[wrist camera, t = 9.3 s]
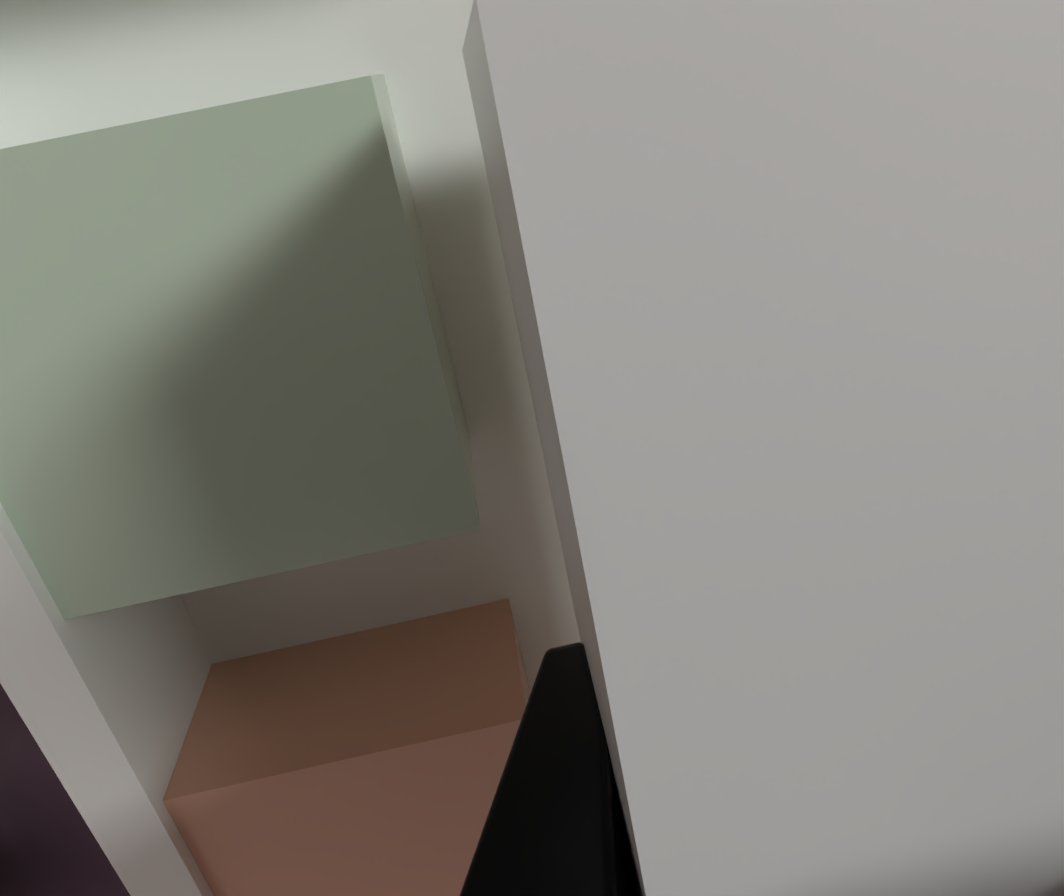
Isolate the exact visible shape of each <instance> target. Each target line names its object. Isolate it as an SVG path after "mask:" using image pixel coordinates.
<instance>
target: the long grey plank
mask: <svg viewBox="0 0 1064 896" xmlns="http://www.w3.org/2000/svg"><path fill="white" fill-rule="evenodd" d="M462 53H463V58H464V63H465V68H466V73H467V78H468V83H469V88H470V93H471V98H472V103H473V108H474V113H475V118H476V123H477V128H478V133H479V138H480V143H481V148H482V153H483V158H484V163H485V168H486V173H487V178H488V183H489V188H490V193H491V198H492V203H493V208H494V213H495V218H496V223H497V228H498V233H499V238H500V243H501V248H502V253H503V258H504V263H505V268H506V272H507V277H508V282H509V287H510V292H511V297H512V302H513V307H514V312H515V317H516V322H517V327H518V332H519V337H520V342H521V347H522V352H523V357H524V362H525V367H526V372H527V377H528V382H529V387H530V392H531V397H532V402H533V407H534V412H535V417H536V422H537V427H538V432H539V437H540V442H541V447H542V452H543V457H544V462H545V467H546V472H547V477H548V482H549V487H550V492H551V497H552V502H553V507H554V512H555V517H556V522H557V527H558V532H559V537H560V541H561V546H562V551H563V556H564V561H565V566H566V571H567V576H568V581H569V586H570V591H571V596H572V601H573V606H574V611H575V616H576V621H577V626H578V631H579V636H580V641H581V643H583V644H584V648H585V652H586V656H587V661H588V665H589V669H590V673H591V677H592V681H593V686H594V690H595V694H596V698H597V702H598V707H599V711H600V715H601V719H602V723H603V728H604V732H605V736H606V740H607V745H608V749H609V754H610V758H611V764H612V769H613V774H614V779H615V784H616V789H617V794H618V799H619V804H620V810H621V815H622V820H623V825H624V830H625V835H626V840H627V845H628V850H629V856H630V861H631V866H632V871H633V876H634V881H635V886H636V891H637V896H1064V0H474V2H473V6H472V10H471V15H470V19H469V23H468V27H467V32H466V36H465V40H464V45H463V49H462Z"/></svg>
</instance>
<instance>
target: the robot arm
mask: <svg viewBox="0 0 1064 896" xmlns="http://www.w3.org/2000/svg"><path fill="white" fill-rule="evenodd" d="M459 896H637V891H636V886H635V881H634V876H633V871H632V866H631V861H630V856H629V850H628V845H627V840H626V835H625V830H624V825H623V820H622V815H621V810H620V804H619V799H618V794H617V789H616V784H615V779H614V774H613V769H612V764H611V758H610V754H609V749H608V745H607V740H606V736H605V732H604V728H603V723H602V719H601V715H600V711H599V707H598V702H597V698H596V694H595V690H594V686H593V681H592V677H591V673H590V669H589V665H588V661H587V656H586V652H585V648H584V644H583V643H581V642H576V643H572V644H567V645H563V646H558V647H554V648H550V649H548V650H547V651H546V652H545V654H544V656H543V659H542V662H541V665H540V668H539V670H538V673H537V676H536V679H535V682H534V685H533V688H532V690H531V693H530V696H529V699H528V702H527V705H526V707H525V710H524V713H523V716H522V719H521V722H520V725H519V727H518V730H517V733H516V736H515V739H514V742H513V744H512V747H511V750H510V753H509V756H508V759H507V762H506V764H505V767H504V770H503V773H502V776H501V779H500V781H499V784H498V787H497V790H496V793H495V796H494V799H493V801H492V804H491V807H490V810H489V813H488V816H487V818H486V821H485V824H484V827H483V830H482V833H481V836H480V838H479V841H478V844H477V847H476V850H475V853H474V856H473V858H472V861H471V864H470V867H469V870H468V873H467V875H466V878H465V881H464V884H463V887H462V890H461V893H460V895H459Z"/></svg>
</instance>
